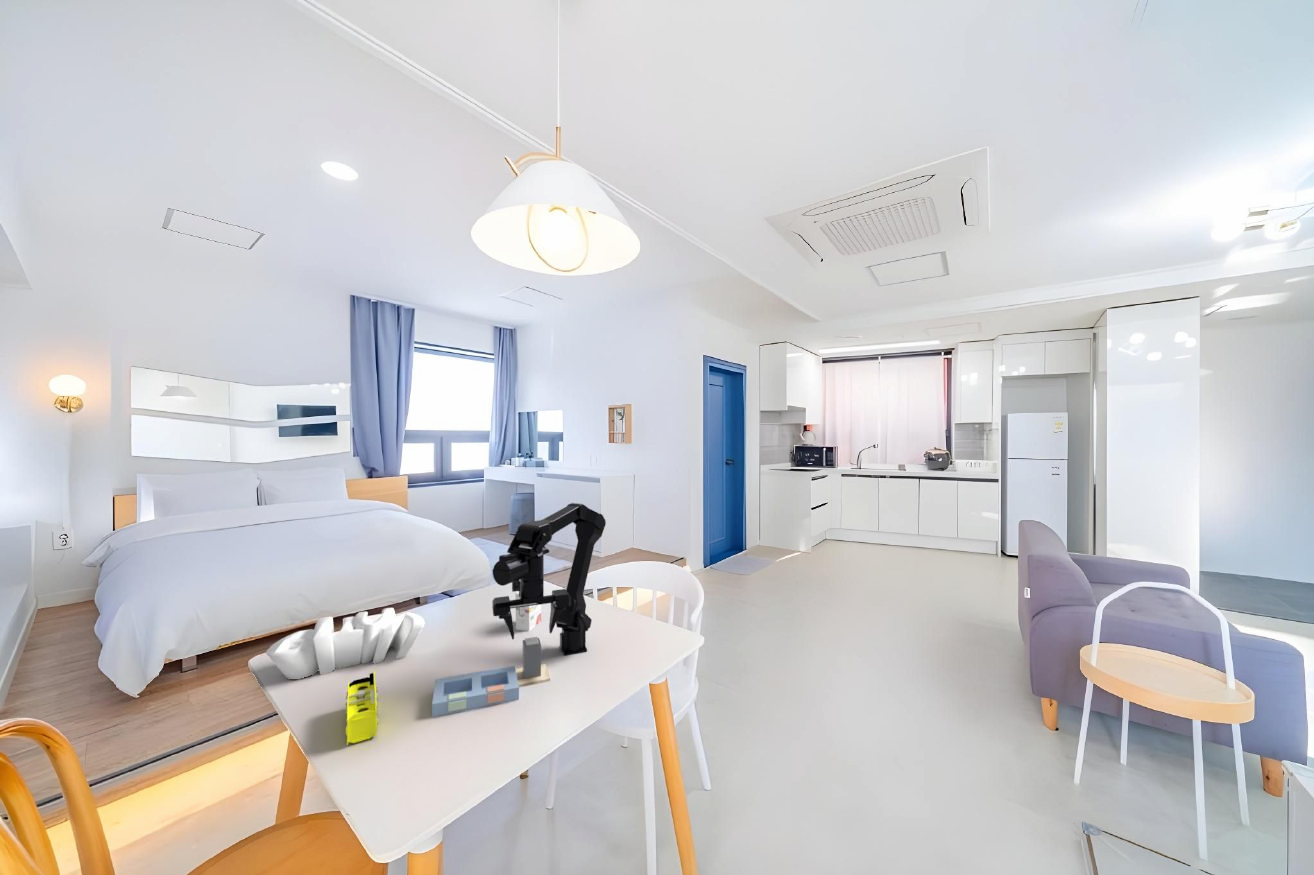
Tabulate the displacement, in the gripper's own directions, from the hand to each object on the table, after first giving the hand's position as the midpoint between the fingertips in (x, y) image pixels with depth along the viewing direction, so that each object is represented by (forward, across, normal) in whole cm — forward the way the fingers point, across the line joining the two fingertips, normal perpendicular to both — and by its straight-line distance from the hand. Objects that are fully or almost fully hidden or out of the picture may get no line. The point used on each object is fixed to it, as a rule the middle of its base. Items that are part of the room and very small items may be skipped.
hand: (532, 635), depth 116 cm
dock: (+10, +13, +4) cm, 17 cm away
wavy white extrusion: (+11, +44, -27) cm, 53 cm away
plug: (+10, 0, 0) cm, 10 cm away
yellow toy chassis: (+11, +36, +6) cm, 38 cm away
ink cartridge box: (+11, -3, -33) cm, 35 cm away
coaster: (+10, 0, 0) cm, 10 cm away
